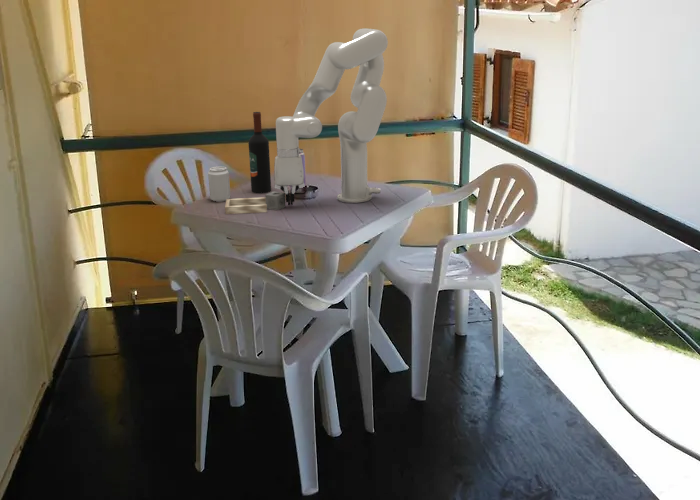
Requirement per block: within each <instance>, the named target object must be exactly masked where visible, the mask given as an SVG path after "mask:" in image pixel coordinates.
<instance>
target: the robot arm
mask: <svg viewBox="0 0 700 500" xmlns="http://www.w3.org/2000/svg"><path fill="white" fill-rule="evenodd" d="M388 44H389V41H388V37H387V35H386V33H384V32H383V31H382V30H380V29H377V28H375V29H373V28H366V27H365V28H359V29H357V30H356V31H355V32H354V33H353V35H352V39H351V40H350V41H347V42H341V41H334V42H332V43H330V44H329V45H328V46H327V47H326V49H325V52H324V54H323V56H322V59H321V60H320V64H319V66H318V69H317V70H316V74H315V76H314V78H313V80H312V81H311V82H312V83H310V84H309V86H308V88H307V89H306V91H305V92H304V93H303V94H302V96H301V98H299V100H298V103H297V105H296V108H295V110H294V113H293V115H292V116H288V115H286V116H284V115H283V116H279V117H277V118H276V119H275V134H276V135H275V136H276V138H275V139H276V153H277V154H276V156H275V157H274V169H273V170H274V171H273V172H274V185H273V186H274V187H273V188H274V189H275V190H281V191H282V193H285V203H288V206H290V205H291V206H293V203H295V194H294V193H295V192H296V191H297V190H298V189H299V188H303V187H305V184H304V173H303V163H302V158H301V156H300V155H299V154H300V153H303V152H304V149H303V148H300V147H299V145H300V144H299V138H305V139H309V138H310V139H312V138H316V137H318V136H319V135H320V134H321V132H323V131H322V130H323V124H322V122H321V120H320V119H319V118H318V117H317V116H316V114H317V111H318V109H319V107H320V106H321V105H322V104H323V102H324V101H326V100H327V99H329V98H330V97H332V96H333V95H334V94H335V93H336V92H337V90H338V87H339V85H340V82H341V81H342V80H341V79H342V78H343V75H344V72H345V70H351V69H354V68H357V67H358V66H359V67H358V71H357V75H356V77H355V82H354V83H353V87H352V89H351V93H350V103H351V104H352V105H353V106H354V108H357V111H353V110H351V111H347V112H345V113H344V114H342V115H341V116H340V118H339V121H338V124H337V130H338V138H339V143H340V144H339V145H340V146H339V147H340V176H341V177H340V182H341V185H340V186H341V187H340V188H341V191H340V192H341V193H339V194H337V196H336V197H337V198H336V199H337V200H338V201H339V202H342V203H349V204H351V203H353V204H354V203H355V204H359V203H364V202H369V201H371V200H372V198H373V195H372V194H376V195H377V194H381V188H380V187H379V188H378V187H376V186H375V187H370V186H369V185H368V146H367V143H369V142H371V141H372V140H374V138H375V137H376V135H377V133H378V130H379V127H380V125H381V123H382V122H381V121H382V119H383V117H384V112H385V110H386V107H387V102H388V101H387V100H388V97H387V93H386V92H385V90H384V88H383V87H382V86H380V85H381V81H382V77H383V75H384V70H385V61H384V55H383V54H384V53H385V51H387V50H386V49H387V48H388ZM290 185H292V189H291V191H290V190H289V189H288V186H289V187H290Z"/></svg>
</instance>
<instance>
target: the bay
mask: <svg viewBox="0 0 700 500" xmlns="http://www.w3.org/2000/svg"><path fill="white" fill-rule="evenodd" d="M224 205H225V206H224V208H225V209H224V210H225V213H224V214H225V215H233V214H235V215H236V214H237V215H238V214H256V213H258V214H259V213H268V209H267V204H266V200H265V197H264V196H263V197H246V198H245V197H244V198H243V197H242V198H229V199H226V201H225V204H224Z"/></svg>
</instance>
